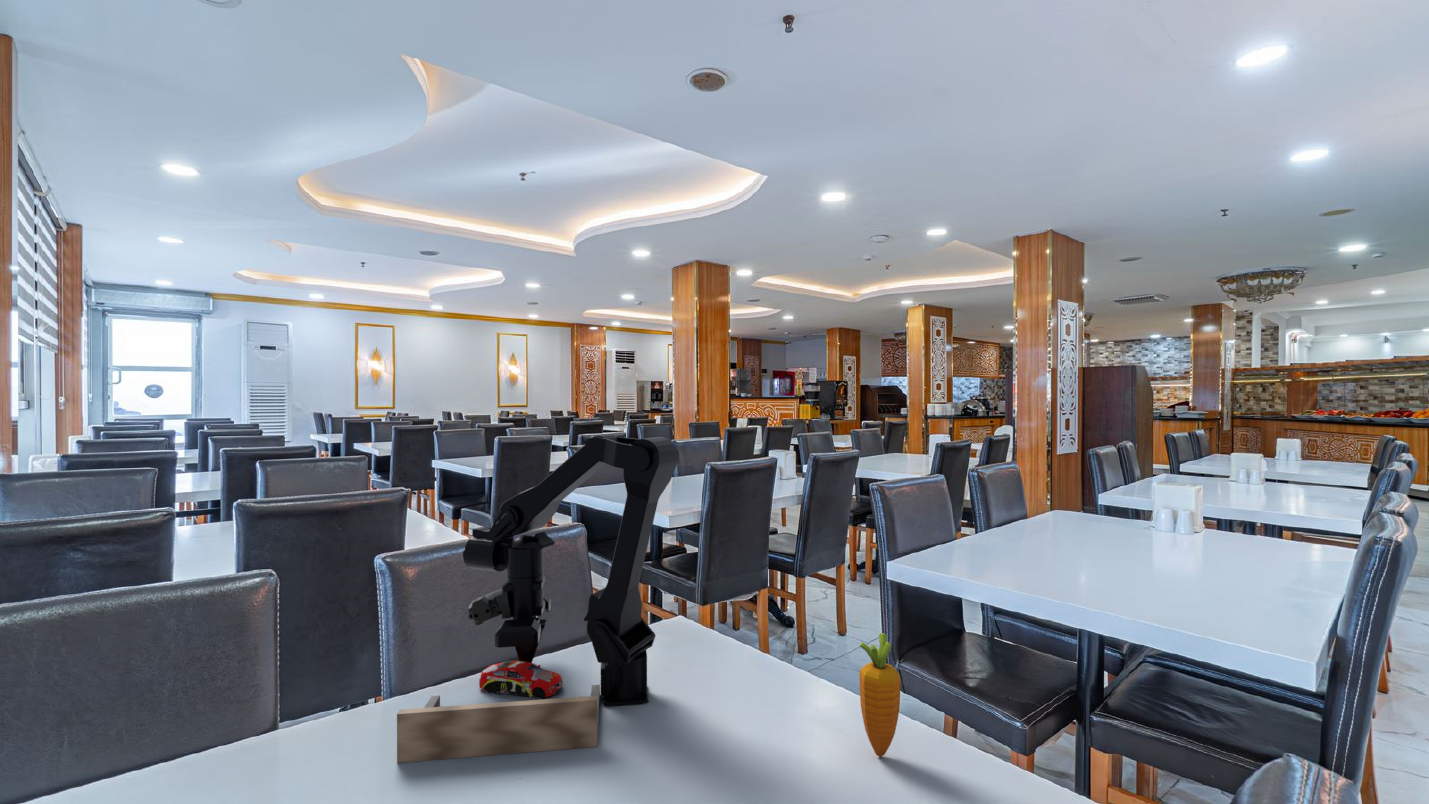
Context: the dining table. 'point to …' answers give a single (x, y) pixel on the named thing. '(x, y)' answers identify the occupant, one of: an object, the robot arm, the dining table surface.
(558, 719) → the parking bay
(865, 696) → the carrot
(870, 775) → the dining table surface
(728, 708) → the dining table surface
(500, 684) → the race car
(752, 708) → the dining table surface
